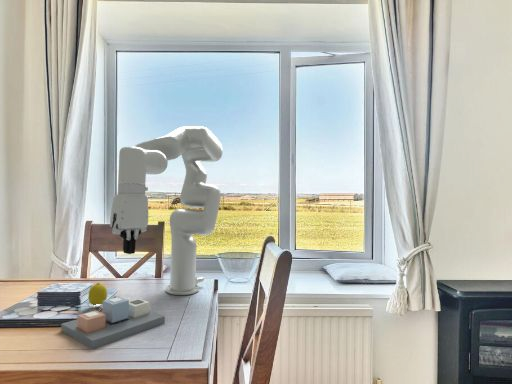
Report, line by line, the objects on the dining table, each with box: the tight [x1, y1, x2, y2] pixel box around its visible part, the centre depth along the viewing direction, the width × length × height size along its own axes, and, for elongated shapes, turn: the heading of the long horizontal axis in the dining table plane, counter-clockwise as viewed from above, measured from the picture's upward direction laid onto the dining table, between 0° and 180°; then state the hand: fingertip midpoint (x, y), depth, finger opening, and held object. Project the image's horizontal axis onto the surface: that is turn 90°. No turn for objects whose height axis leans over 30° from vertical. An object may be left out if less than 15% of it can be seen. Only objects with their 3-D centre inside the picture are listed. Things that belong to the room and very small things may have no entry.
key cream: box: [128, 298, 150, 318], centre depth 105 cm, size 5×5×5 cm
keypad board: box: [60, 309, 166, 350], centre depth 99 cm, size 22×16×2 cm
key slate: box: [101, 296, 130, 324], centre depth 99 cm, size 5×5×5 cm
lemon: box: [87, 282, 108, 306], centre depth 114 cm, size 6×6×8 cm
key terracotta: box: [77, 309, 106, 333], centre depth 94 cm, size 5×5×5 cm
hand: (129, 253), depth 102 cm, fingers closed
